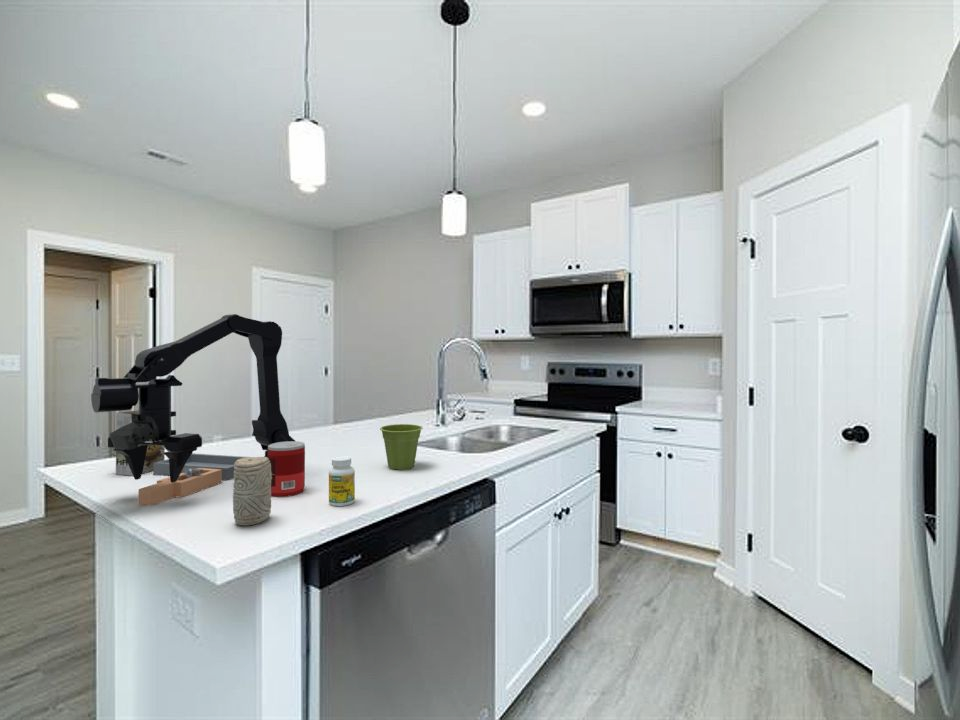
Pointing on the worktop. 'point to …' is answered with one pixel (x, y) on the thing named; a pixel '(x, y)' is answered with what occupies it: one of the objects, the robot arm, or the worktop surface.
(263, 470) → the carving
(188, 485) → the wooden slotted key block
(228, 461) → the tray
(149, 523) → the worktop surface
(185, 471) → the post
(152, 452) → the cookie box
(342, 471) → the supplement bottle
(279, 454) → the canned food
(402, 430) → the plant pot
